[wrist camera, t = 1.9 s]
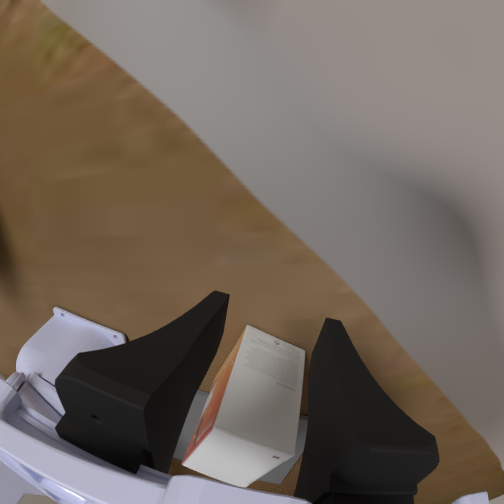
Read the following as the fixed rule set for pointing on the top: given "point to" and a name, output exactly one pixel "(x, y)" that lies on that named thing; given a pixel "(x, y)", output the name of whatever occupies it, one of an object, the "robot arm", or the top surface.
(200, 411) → the display mat
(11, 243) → the top surface
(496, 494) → the top surface
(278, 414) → the small box
